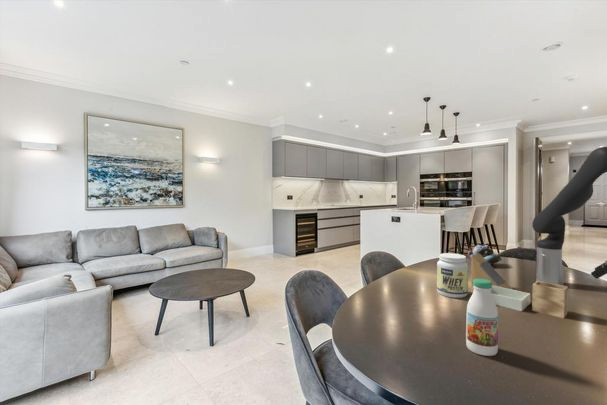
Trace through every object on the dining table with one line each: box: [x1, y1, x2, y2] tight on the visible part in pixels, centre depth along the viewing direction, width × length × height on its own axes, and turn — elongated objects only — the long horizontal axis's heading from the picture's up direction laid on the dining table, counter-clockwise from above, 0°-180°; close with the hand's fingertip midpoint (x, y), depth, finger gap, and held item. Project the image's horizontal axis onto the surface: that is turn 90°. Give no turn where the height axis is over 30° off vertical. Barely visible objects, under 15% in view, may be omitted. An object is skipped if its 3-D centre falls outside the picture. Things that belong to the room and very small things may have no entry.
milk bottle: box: [465, 279, 499, 357], centre depth 84 cm, size 8×8×20 cm
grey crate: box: [491, 285, 531, 312], centre depth 119 cm, size 15×12×4 cm
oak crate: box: [531, 280, 569, 319], centre depth 109 cm, size 9×6×10 cm, turn 40°
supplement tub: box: [436, 252, 469, 299], centre depth 129 cm, size 12×12×17 cm
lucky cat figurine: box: [467, 243, 503, 266], centre depth 177 cm, size 15×12×14 cm
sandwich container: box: [470, 253, 514, 290], centre depth 134 cm, size 9×15×15 cm, turn 37°
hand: (595, 273), depth 100 cm, fingers open, 8 cm apart
